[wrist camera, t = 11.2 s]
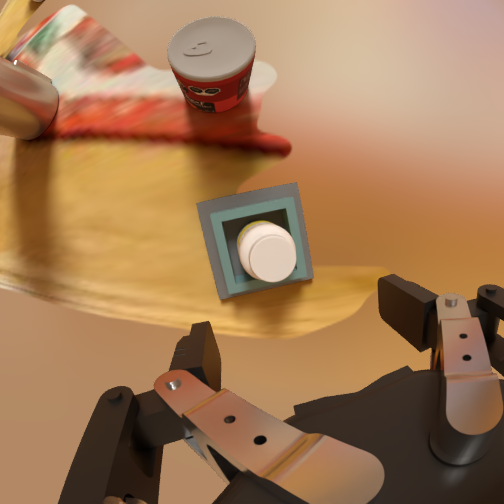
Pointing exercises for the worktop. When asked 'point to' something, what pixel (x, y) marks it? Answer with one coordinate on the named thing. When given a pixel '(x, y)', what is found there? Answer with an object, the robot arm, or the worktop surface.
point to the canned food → (212, 62)
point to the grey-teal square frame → (235, 218)
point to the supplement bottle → (266, 251)
